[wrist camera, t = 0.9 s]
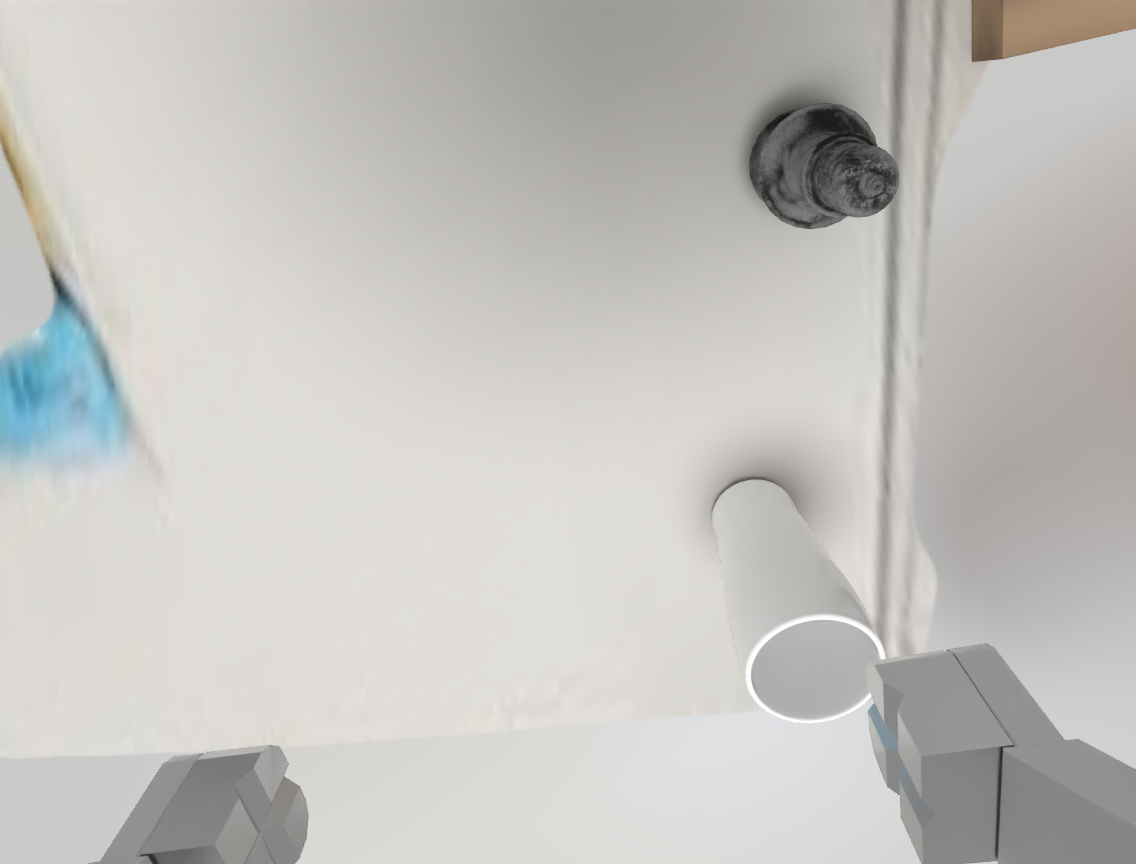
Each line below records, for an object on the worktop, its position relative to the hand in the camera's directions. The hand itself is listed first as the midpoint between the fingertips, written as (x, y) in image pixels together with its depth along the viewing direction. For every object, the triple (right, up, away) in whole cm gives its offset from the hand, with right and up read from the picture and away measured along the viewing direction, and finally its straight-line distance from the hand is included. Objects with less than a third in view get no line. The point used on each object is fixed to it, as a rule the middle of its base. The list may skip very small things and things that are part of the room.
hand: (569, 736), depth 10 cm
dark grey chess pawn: (+12, +19, +30) cm, 38 cm away
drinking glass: (+12, -1, +39) cm, 41 cm away
